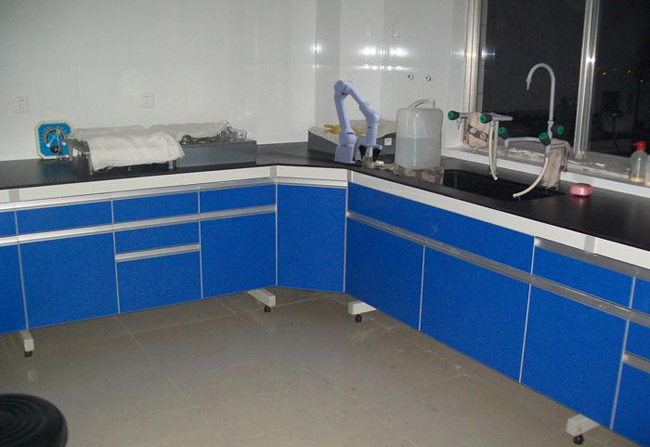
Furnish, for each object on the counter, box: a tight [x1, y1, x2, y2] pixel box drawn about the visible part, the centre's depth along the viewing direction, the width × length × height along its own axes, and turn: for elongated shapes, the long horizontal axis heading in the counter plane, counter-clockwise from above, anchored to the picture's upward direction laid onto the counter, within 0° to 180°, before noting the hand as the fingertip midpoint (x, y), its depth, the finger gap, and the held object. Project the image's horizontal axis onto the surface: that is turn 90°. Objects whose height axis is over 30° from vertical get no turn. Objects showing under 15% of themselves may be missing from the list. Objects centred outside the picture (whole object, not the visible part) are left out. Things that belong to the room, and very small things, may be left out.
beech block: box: [361, 156, 375, 169], centre depth 365 cm, size 4×4×6 cm
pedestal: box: [374, 160, 384, 167], centre depth 372 cm, size 7×7×2 cm
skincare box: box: [355, 133, 374, 162], centre depth 387 cm, size 8×6×15 cm
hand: (368, 161), depth 365 cm, fingers open, 7 cm apart
